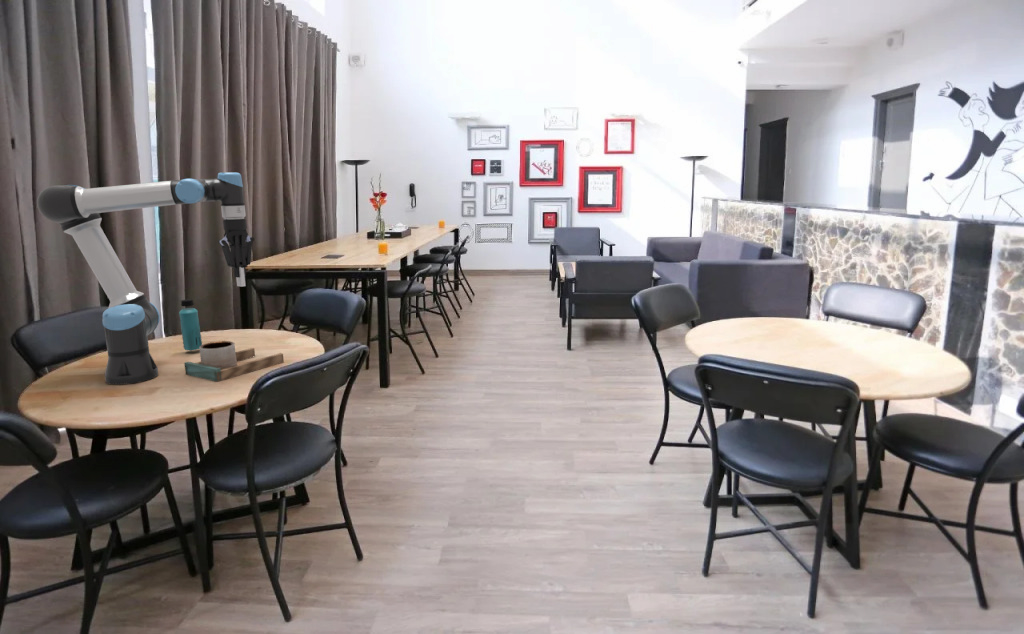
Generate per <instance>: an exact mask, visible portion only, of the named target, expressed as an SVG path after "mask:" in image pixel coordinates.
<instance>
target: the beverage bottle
mask: <svg viewBox="0 0 1024 634" xmlns="http://www.w3.org/2000/svg"><path fill="white" fill-rule="evenodd" d="M180 303H181V304H180V305H181V307H184V308H182V309H181V310H180V311H179V312H178V314H179V320H180V327H181V328H180V329H181V330H180V331H181V332H180V333H181V339H182V344H183V346H182V347H183V349H184V350H185V351H196V350H200V349H199V347H200V346H201V345H203V341H202V339H203V338H202V334H201V328H200V327H201V325H200V319H199V313H198V312H199V311H198V309H196V308H194V307H192V306H194V305H195V304H194V300H193V299H191V298H190V299H183V300H181V301H180Z"/></svg>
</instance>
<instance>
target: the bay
mask: <svg viewBox="0 0 1024 634" xmlns="http://www.w3.org/2000/svg"><path fill="white" fill-rule="evenodd" d="M255 351H256V350H255V348H254V347H250V348H247V349H243V350H239V351H235V352H236V360H237V362H240V361H244V360H248V359H251V358H254V357H253V356H255V357H256V352H255ZM250 357H251V358H250ZM247 358H248V359H247ZM243 359H244V360H243ZM284 360H285V359H284V353H281V352H280V353H276V354H272V355H269V356H265V357H262V358H258V359H255V360H251V361H247V362H243V363H241V364H237V366H233V367H230V368H226V369H222V370H220V368H216V367H211V366H207V365H202V364H201V360H200V361H197V362H192V361H185V362H184V363H183V365H184V371H185V375H187V376H191V377H196V378H200V379H204V380H209V381H213V382H217V383H218V382H222V381H225V380H228V379H230V378H235V377H238V376H241V375H244V374H249V373H251V372H252V373H253V372H255V371H258V370H261V369H264V368H268V367H271V366H274V365H278V364H282V363H284Z"/></svg>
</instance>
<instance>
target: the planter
mask: <svg viewBox="0 0 1024 634" xmlns="http://www.w3.org/2000/svg"><path fill="white" fill-rule="evenodd" d="M198 350H199V356H200V361H201V364H202V365H207V366H211V367H216V368H220V370H222V369H226V368H230V367H233V366H237V365H238V361H237V360H236V352H237V351H236V345H235V341H234V342H233V341H231V340H230V341H229V340H221V341H220V340H219V341H217V340H216V341H211V342H206V343H202V345H201V346H200V347H199V349H198Z"/></svg>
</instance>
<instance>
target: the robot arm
mask: <svg viewBox="0 0 1024 634" xmlns="http://www.w3.org/2000/svg"><path fill="white" fill-rule="evenodd" d="M244 194H245V193H244V185H243V179H242V174H241V173H239V172H218V174H217V178H191V177H190V178H183V179H176V180H165V181H154V182H152V181H151V182H147V183H146V182H145V183H135V184H133V183H132V184H124V185H123V184H122V185H114V186H112V185H111V186H103V187H102V186H101V187H91V188H84V187H82V186H80V185H75V184H66V185H63V184H62V185H50V186H48V187H46V188H44V189H43V190H41V192H39V194H38V196H37V199H36V206H37V209H38V212H39V214H41V215H42V216H43V218H45V219H46V220H48V221H50V222H52V223H57V224H58V225H59V227H60V228H61V230H62V231H63V233H65V234H67V235H70V236H71V237H72V239H74V242H75V243H76V245H77V247H78V249H79V250H80V252H81V253H82V255H83V257H84V259H85V261H86V262H87V264H88V266H89V267H90V270H92V272H93V274H94V276H95V278H96V279H97V281H98V283H99V284H100V286H101V288H102V289H103V291H104V293H105V295H106V296H107V299H108V300H109V305H108V308H106V309H105V310H104V311H103V313H102V319H101V321H102V326H103V331H104V338H105V343H106V344H105V345H106V350H107V351H106V352H107V363H106V367H105V373H104V381H105V383H106V384H110V385H128V384H136V383H141V382H146V381H148V380H152V379H154V378H155V377H157V376H158V375H159V368H158V366H157V363H156V362H155V360H154V358H153V357H152V354H151V353H150V348H149V346H150V345H149V339H148V336H149V335H151V334H152V333H154V331H155V330H156V329H157V328H158V326H159V323H160V320H161V319H160V317H161V315H160V311H159V310H158V307H156V305H154V303H152V302H150V301H149V300H148V298H147V296H146V295H145V293H144V292H141V291H139V290H137V288H136V286H135V285H134V283H133V282H132V280H131V278H130V277H129V275H128V273H127V271H126V269H125V267H124V266H123V264H122V262H121V260H120V258H119V257H118V254H117V253H116V252H115V250H114V248H113V246H112V245H111V243H110V241H109V239H108V238H107V236H106V234H105V233H104V230H103V228H102V227H101V222H102V219H103V218H102V216H101V215H100V214H101V213H110V212H118V211H119V212H120V211H129V210H138V209H145V208H155V207H156V208H157V207H166V206H173V205H185V204H196V203H201V202H204V203H205V202H220V208H221V218H223V220H222V226H223V228H222V229H223V230H224V233H223V238H222V239H219V240H218V241H217V242H218V244H219V245H220V247H221V249H222V252H223V255H224V258H225V261H226V264H227V267H229V268H232V269H233V275H234V278H236V287H241V288H242V287H246V276H247V269H246V268H248V266H249V265H251V262H252V251H253V250H252V249H253V244H254V241H255V237H253V236H250V235H249V234H248V233H249V232H248V231H247V229H248V224H247V219H246V218H245V217H246V216H247V215H246V214H247V213H246V206H245V205H246V204H245V196H244Z"/></svg>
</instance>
